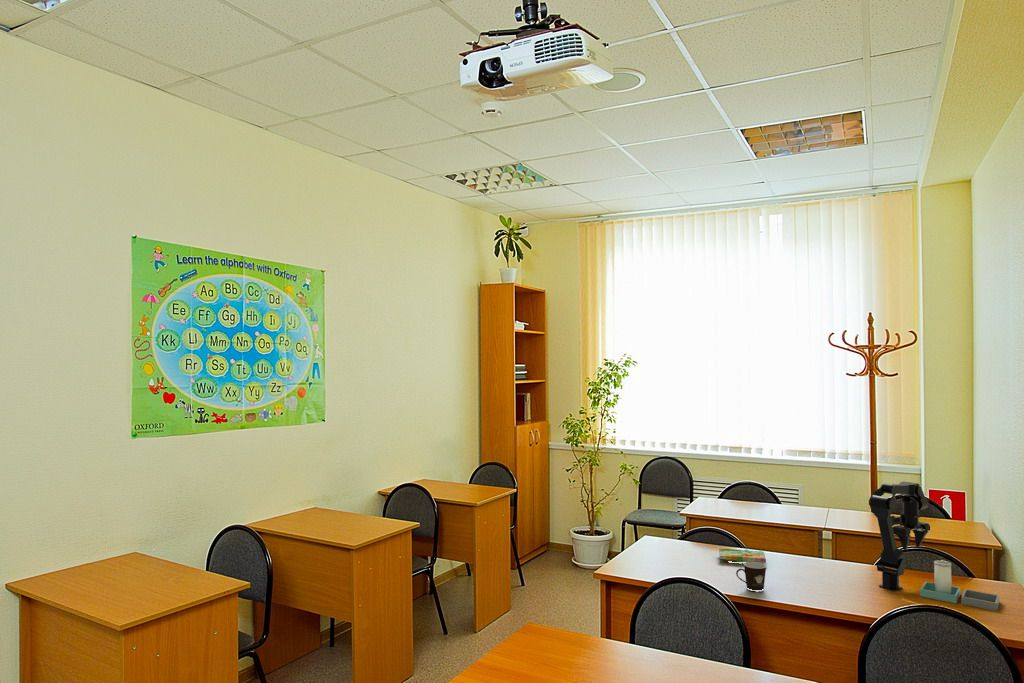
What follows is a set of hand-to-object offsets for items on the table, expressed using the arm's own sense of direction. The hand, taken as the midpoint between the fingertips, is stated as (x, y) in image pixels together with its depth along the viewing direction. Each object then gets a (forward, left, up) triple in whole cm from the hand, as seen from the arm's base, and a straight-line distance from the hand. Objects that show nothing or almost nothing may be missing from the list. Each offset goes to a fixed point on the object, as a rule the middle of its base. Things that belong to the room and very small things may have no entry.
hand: (911, 548), depth 290 cm
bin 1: (-12, -18, -13) cm, 25 cm away
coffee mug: (-69, +25, -13) cm, 75 cm away
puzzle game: (-43, +53, -14) cm, 70 cm away
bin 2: (-7, -30, -13) cm, 34 cm away
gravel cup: (-11, -19, -12) cm, 25 cm away
